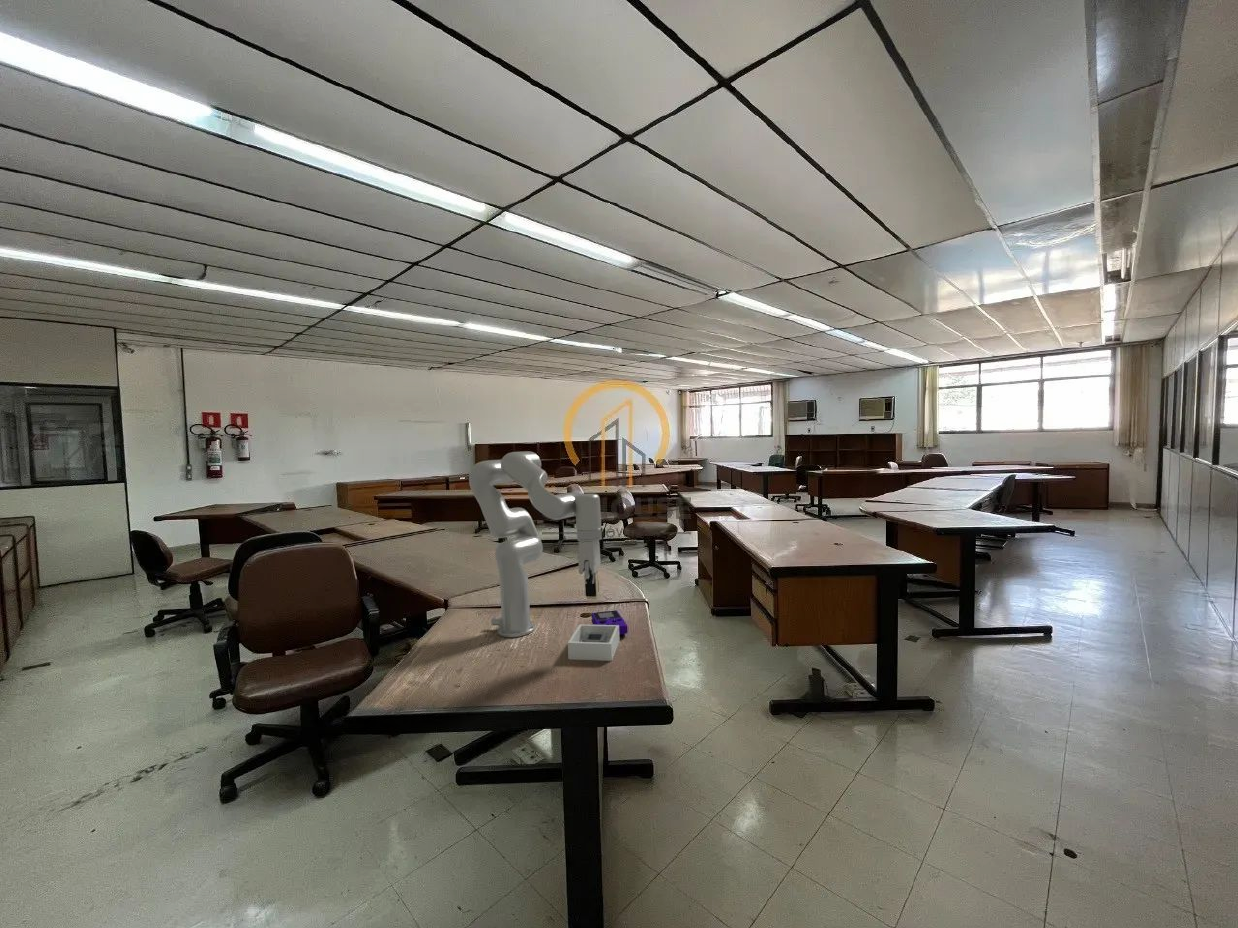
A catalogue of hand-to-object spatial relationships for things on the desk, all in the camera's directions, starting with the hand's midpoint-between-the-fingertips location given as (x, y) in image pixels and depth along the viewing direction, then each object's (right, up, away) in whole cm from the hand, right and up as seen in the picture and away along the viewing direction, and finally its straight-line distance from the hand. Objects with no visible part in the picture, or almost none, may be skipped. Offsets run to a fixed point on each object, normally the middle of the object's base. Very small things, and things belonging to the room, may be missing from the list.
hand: (592, 593), depth 144 cm
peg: (0, -1, 0) cm, 1 cm away
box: (+1, -17, +1) cm, 17 cm away
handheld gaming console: (+5, -17, +15) cm, 23 cm away
